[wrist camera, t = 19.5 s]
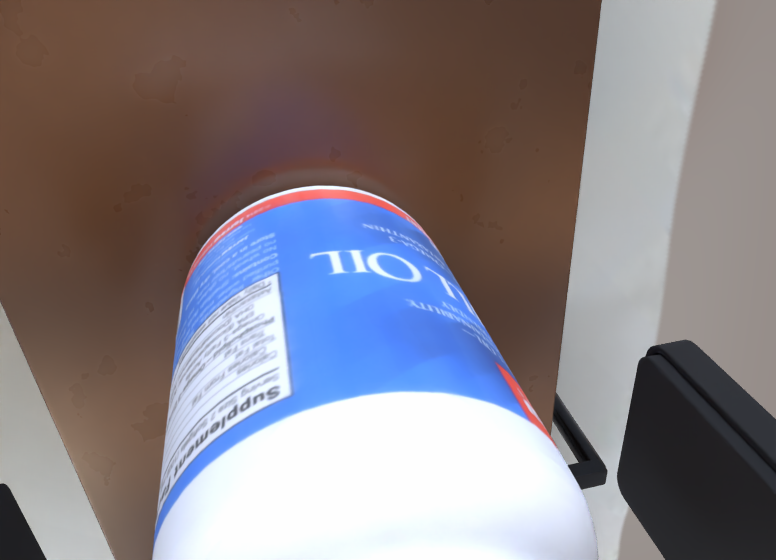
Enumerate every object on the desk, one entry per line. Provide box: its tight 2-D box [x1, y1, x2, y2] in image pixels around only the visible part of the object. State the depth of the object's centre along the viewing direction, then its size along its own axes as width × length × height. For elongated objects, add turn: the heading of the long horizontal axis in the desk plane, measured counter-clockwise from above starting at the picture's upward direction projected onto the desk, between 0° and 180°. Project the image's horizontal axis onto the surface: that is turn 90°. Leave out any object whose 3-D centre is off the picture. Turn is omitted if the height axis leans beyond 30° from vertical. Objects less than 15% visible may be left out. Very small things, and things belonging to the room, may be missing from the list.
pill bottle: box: [152, 186, 598, 560], centre depth 9 cm, size 6×5×10 cm
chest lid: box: [0, 0, 602, 560], centre depth 14 cm, size 14×12×1 cm
